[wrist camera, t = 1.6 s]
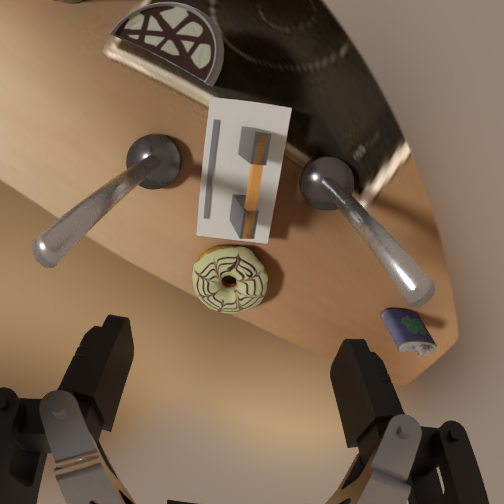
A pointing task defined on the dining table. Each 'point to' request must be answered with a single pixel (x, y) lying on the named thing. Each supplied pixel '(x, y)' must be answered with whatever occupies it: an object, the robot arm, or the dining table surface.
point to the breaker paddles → (250, 181)
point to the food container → (176, 37)
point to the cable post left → (111, 195)
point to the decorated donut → (236, 265)
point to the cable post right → (363, 224)
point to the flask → (408, 331)
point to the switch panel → (238, 165)
